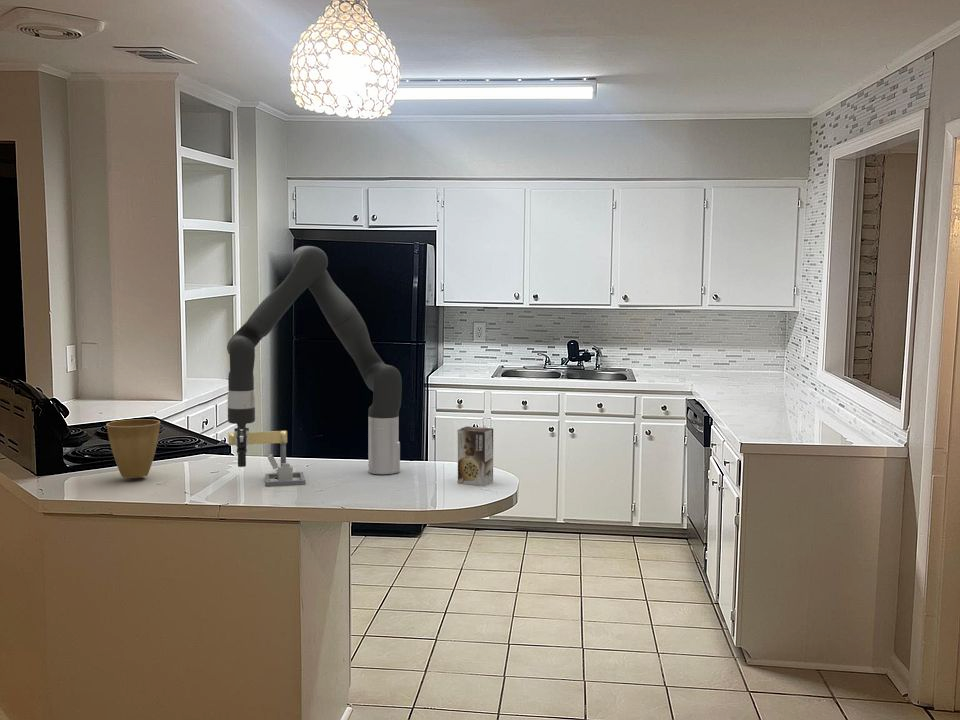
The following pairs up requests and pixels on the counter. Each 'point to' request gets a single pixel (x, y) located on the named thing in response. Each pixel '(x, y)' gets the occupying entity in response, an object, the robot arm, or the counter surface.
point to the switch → (275, 475)
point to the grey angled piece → (282, 469)
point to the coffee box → (475, 456)
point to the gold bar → (262, 437)
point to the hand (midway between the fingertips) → (241, 465)
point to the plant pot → (133, 445)
